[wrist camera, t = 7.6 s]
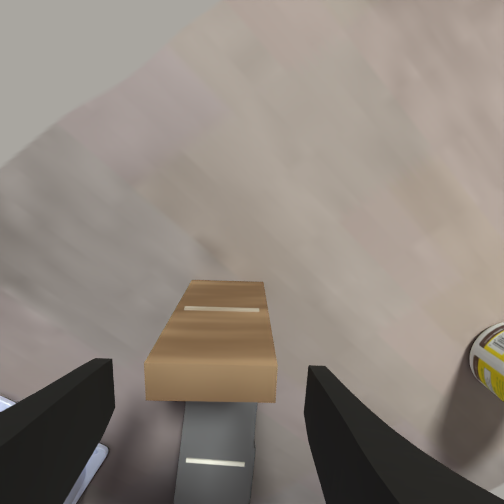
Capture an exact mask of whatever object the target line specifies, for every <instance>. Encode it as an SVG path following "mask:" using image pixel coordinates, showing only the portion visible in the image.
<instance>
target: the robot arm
mask: <svg viewBox="0 0 504 504" xmlns="http://www.w3.org/2000/svg"><path fill="white" fill-rule="evenodd" d="M114 409H115V397H114V381H113V364H112V359H102V358H95V359H93V360H91V361H89V362H87V363H85V364H84V365H82V366H80V367H78V368H77V369H75V370H73V371H72V372H70V373H68V374H67V375H65V376H63V377H62V378H60V379H58V380H56V381H55V382H53V383H51V384H50V385H48V386H46V387H45V388H43V389H41V390H39V391H38V392H36V393H34V394H32V395H30V396H29V397H27V398H25V399H23V400H21V401H20V402H18V403H15V402H13V401H11V400H9V399H7V398H5V397H2V396H0V504H76V503H77V501H78V499H79V498H80V496H81V495H82V493H83V492H84V490H85V489H86V487H87V485H88V484H89V482H90V481H91V479H92V478H93V476H94V475H95V473H96V472H97V470H98V468H99V467H100V465H101V464H102V462H103V461H104V459H105V458H106V456H107V454H108V448H107V447H106V446H104V445H102V444H100V443H99V442H100V440H101V438H102V436H103V434H104V432H105V430H106V428H107V425H108V423H109V421H110V419H111V416H112V414H113V411H114ZM304 417H305V423H306V430H307V435H308V441H309V445H310V449H311V452H312V456H313V459H314V463H315V466H316V470H317V473H318V477H319V480H320V484H321V487H322V491H323V494H324V498H325V501H326V504H504V500H503V499H501V498H499V497H497V496H495V495H494V494H492V493H490V492H488V491H487V490H485V489H483V488H481V487H479V486H478V485H476V484H474V483H472V482H470V481H469V480H467V479H465V478H464V477H462V476H460V475H459V474H457V473H455V472H454V471H452V470H451V469H449V468H447V467H446V466H444V465H443V464H441V463H440V462H438V461H437V460H435V459H434V458H432V457H430V456H429V455H427V454H426V453H424V452H423V451H422V450H420V449H419V448H417V447H416V446H414V445H413V444H412V443H410V442H409V441H408V440H406V439H405V438H404V437H402V436H401V435H400V434H398V433H397V432H396V431H394V430H393V429H392V428H391V427H389V426H388V425H387V424H386V423H385V422H383V421H382V420H381V419H380V418H379V417H378V416H376V415H375V414H374V413H373V412H372V411H371V410H370V409H368V408H367V407H366V406H365V405H364V404H363V403H362V402H361V401H360V400H359V399H358V398H357V397H356V396H355V395H354V394H352V393H351V392H350V391H349V390H348V389H347V388H346V387H345V386H344V385H343V384H342V383H341V382H340V381H339V379H338V378H337V377H336V376H335V375H334V374H333V373H332V372H331V371H330V370H329V369H328V368H327V367H326V366H311V365H309V367H308V377H307V387H306V396H305V406H304ZM95 449H96V450H95Z"/></svg>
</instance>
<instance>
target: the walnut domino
mask: <svg viewBox="0 0 504 504" xmlns="http://www.w3.org/2000/svg"><path fill="white" fill-rule="evenodd" d="M144 371H145V391H146V400H153V401H208V402H262V403H275V399H276V383H277V360H276V354H275V348H274V342H273V337H272V331H271V325H270V319H269V313H268V307H267V301H266V295H265V289H264V283H263V282H244V281H209V280H192V281H191V283H190V285H189V286H188V288H187V290H186V292H185V293H184V295H183V297H182V298H181V300H180V302H179V304H178V305H177V307H176V309H175V311H174V312H173V314H172V316H171V318H170V319H169V321H168V323H167V324H166V326H165V328H164V330H163V331H162V333H161V335H160V337H159V338H158V340H157V342H156V344H155V345H154V347H153V349H152V350H151V352H150V354H149V356H148V357H147V359H146V361H145V363H144Z"/></svg>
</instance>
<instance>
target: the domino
mask: <svg viewBox="0 0 504 504" xmlns="http://www.w3.org/2000/svg"><path fill="white" fill-rule="evenodd" d="M256 412H257V402H208V401H186V404H185V413H184V421H183V429H182V438H181V446H180V454H179V463H178V471H177V480H176V488H175V496H174V504H248V501H249V490H250V478H251V467H252V456H253V445H254V434H255V423H256Z"/></svg>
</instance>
